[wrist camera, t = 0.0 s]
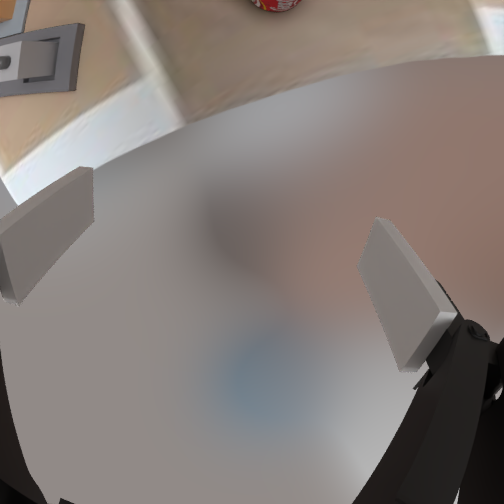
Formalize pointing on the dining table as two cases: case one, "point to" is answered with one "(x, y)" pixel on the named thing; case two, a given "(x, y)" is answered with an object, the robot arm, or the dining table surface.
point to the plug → (6, 9)
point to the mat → (15, 20)
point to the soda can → (276, 4)
